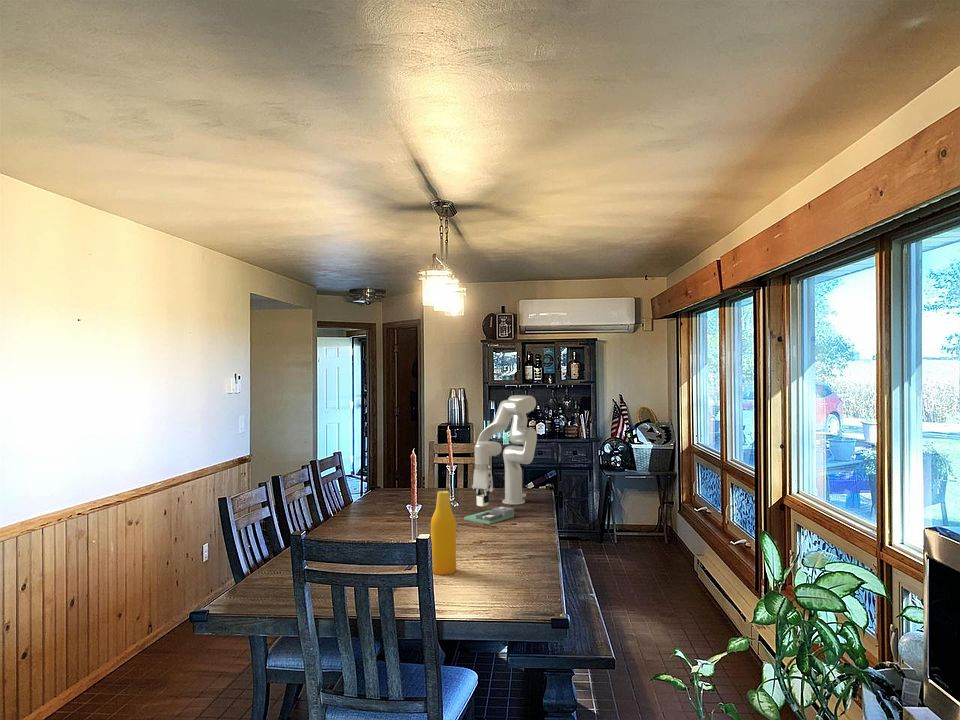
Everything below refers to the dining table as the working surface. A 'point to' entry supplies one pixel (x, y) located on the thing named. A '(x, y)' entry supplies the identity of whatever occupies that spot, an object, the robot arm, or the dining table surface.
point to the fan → (503, 511)
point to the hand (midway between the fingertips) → (482, 501)
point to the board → (473, 518)
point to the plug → (481, 500)
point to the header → (489, 516)
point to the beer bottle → (443, 536)
